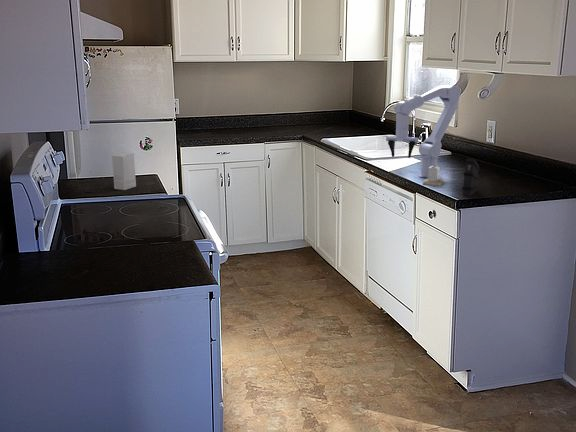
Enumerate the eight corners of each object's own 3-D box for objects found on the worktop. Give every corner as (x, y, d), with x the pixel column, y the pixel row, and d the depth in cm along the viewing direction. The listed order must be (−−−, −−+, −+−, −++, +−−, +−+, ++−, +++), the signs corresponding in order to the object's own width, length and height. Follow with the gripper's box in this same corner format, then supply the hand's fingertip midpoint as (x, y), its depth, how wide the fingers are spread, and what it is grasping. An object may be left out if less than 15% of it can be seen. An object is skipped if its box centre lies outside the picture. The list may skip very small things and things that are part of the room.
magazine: (460, 193, 272) (465, 158, 274) (466, 200, 283) (472, 167, 286) (469, 193, 270) (474, 158, 272) (475, 201, 282) (481, 167, 284)
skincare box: (126, 185, 304) (123, 152, 300) (137, 186, 301) (134, 153, 298) (113, 189, 297) (110, 154, 293) (124, 190, 294) (122, 155, 290)
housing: (430, 178, 303) (430, 164, 301) (439, 179, 301) (439, 164, 300) (427, 181, 297) (428, 166, 296) (436, 181, 296) (437, 167, 294)
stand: (426, 181, 305) (426, 177, 304) (443, 182, 302) (443, 179, 301) (423, 184, 297) (423, 181, 297) (440, 185, 295) (441, 182, 294)
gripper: (384, 128, 303) (384, 157, 307) (416, 129, 298) (415, 159, 302) (388, 126, 310) (387, 155, 313) (419, 127, 305) (417, 156, 308)
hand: (401, 157), depth 308 cm, fingers open, 7 cm apart
